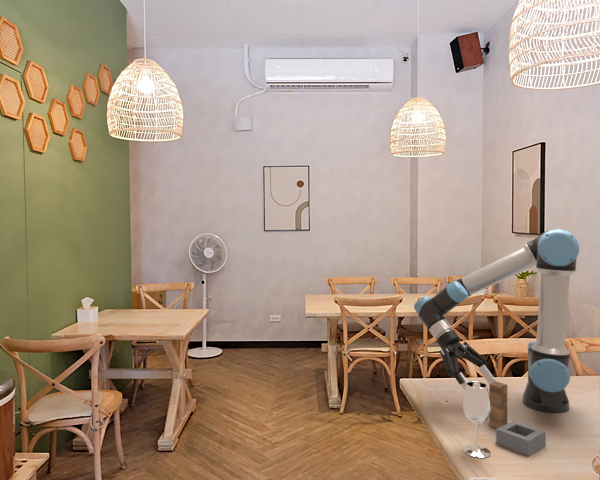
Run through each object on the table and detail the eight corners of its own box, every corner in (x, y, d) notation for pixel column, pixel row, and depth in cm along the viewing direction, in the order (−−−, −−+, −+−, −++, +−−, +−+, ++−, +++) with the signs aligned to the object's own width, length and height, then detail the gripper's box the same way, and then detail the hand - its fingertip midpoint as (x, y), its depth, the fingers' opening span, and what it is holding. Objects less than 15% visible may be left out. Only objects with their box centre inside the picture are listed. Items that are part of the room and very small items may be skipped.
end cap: (513, 434, 147) (513, 420, 147) (545, 446, 139) (545, 431, 139) (496, 443, 141) (496, 429, 141) (528, 456, 133) (528, 441, 133)
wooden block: (496, 422, 156) (496, 381, 156) (507, 426, 153) (507, 384, 153) (489, 425, 154) (489, 383, 154) (500, 429, 151) (500, 387, 150)
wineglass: (458, 446, 140) (458, 380, 139) (483, 444, 141) (483, 379, 140) (469, 459, 132) (469, 389, 132) (496, 457, 133) (496, 388, 132)
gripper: (459, 335, 178) (495, 385, 167) (416, 346, 164) (452, 401, 152) (471, 324, 174) (509, 374, 162) (428, 334, 159) (466, 389, 148)
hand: (482, 387), depth 157 cm, fingers open, 13 cm apart
